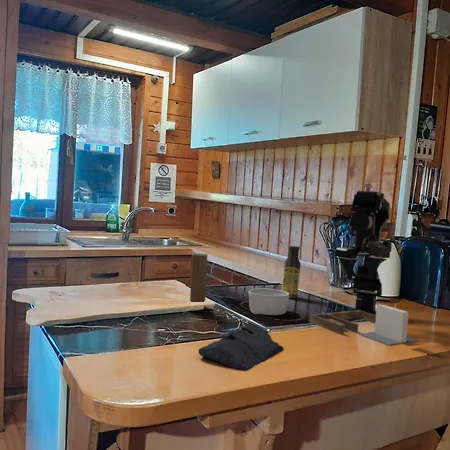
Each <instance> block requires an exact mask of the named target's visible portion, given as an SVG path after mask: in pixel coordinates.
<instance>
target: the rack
mask: <svg viewBox="0 0 450 450" xmlns="http://www.w3.org/2000/svg"><path fill="white" fill-rule="evenodd" d="M326 319H333V320H335V321H338V322H340V323H343V324H345V329H346V331H349V332H353V333H356V334H357V333H358V331H359V324H358V323H355V322H353V321H350V320H354V319H360V320H363V321H366V322H370V323H371V324H372V323H373V324H375V320H376V314H374V313H373V314H370V313H367V312H364V311H361V310H356V311H354V310H347V311H337V312H336V311H335V312H326V313H316V314H315V313H314V314H310V315H309V323H311V324H314V325H315V326H317V327H321V328H322V329H326V330H328V331H330V332H334V333H336V334H339V335H344V332H345V331H344V326H342V325H340V324H337V323H334V322H332V321H329V320H326Z"/></svg>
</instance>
